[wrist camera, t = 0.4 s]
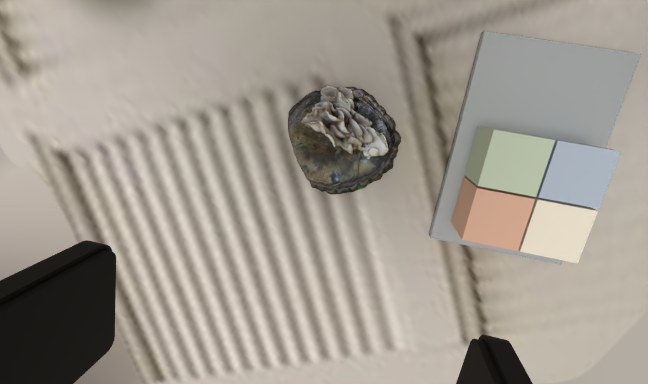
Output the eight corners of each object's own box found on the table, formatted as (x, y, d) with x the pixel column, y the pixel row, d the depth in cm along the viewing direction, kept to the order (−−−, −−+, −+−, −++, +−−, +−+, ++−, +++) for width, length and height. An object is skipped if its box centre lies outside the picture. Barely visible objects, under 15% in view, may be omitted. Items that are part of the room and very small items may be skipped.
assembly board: (481, 33, 32) (484, 30, 31) (632, 55, 31) (640, 53, 30) (429, 234, 38) (430, 237, 37) (556, 260, 37) (561, 264, 36)
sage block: (477, 125, 34) (493, 129, 29) (530, 134, 33) (555, 140, 28) (464, 174, 35) (477, 186, 30) (514, 184, 34) (536, 197, 30)
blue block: (532, 135, 33) (557, 140, 28) (587, 144, 33) (621, 151, 28) (517, 184, 34) (538, 197, 30) (568, 194, 34) (599, 208, 29)
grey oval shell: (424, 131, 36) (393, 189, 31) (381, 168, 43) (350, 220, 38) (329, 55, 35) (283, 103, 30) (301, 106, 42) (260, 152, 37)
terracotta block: (463, 176, 35) (476, 188, 30) (514, 186, 34) (535, 199, 30) (451, 222, 36) (461, 239, 32) (499, 231, 36) (517, 251, 31)
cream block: (516, 186, 34) (537, 199, 30) (568, 196, 34) (598, 211, 29) (501, 232, 36) (520, 251, 31) (551, 242, 35) (577, 263, 31)
